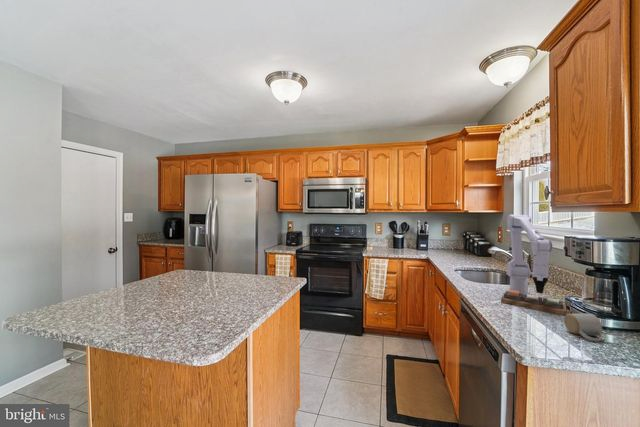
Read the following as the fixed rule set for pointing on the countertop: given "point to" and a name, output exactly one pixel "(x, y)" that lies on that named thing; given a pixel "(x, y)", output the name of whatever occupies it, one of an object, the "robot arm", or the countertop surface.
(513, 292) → the terracotta button
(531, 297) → the cream button
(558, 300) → the sage button
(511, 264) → the robot arm
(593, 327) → the ceramic mug
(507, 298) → the button panel
